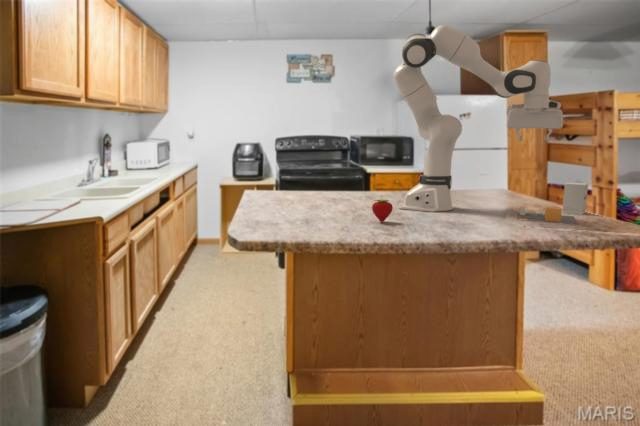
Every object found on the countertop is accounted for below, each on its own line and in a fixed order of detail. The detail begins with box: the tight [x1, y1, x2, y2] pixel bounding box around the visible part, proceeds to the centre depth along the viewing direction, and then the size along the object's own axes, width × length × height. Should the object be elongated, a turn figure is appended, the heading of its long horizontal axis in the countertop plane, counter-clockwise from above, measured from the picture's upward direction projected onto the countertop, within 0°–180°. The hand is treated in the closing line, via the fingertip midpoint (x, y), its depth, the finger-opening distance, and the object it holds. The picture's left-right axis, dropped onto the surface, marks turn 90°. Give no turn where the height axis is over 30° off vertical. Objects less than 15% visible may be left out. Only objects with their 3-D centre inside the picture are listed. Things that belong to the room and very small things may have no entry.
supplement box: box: [561, 182, 589, 216], centre depth 193 cm, size 7×7×13 cm
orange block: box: [544, 205, 563, 222], centre depth 178 cm, size 5×5×4 cm
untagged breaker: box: [519, 205, 526, 216], centre depth 187 cm, size 2×2×4 cm
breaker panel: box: [516, 210, 579, 225], centre depth 182 cm, size 20×16×2 cm
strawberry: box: [371, 195, 393, 223], centre depth 178 cm, size 6×8×10 cm
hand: (533, 140), depth 192 cm, fingers open, 8 cm apart
